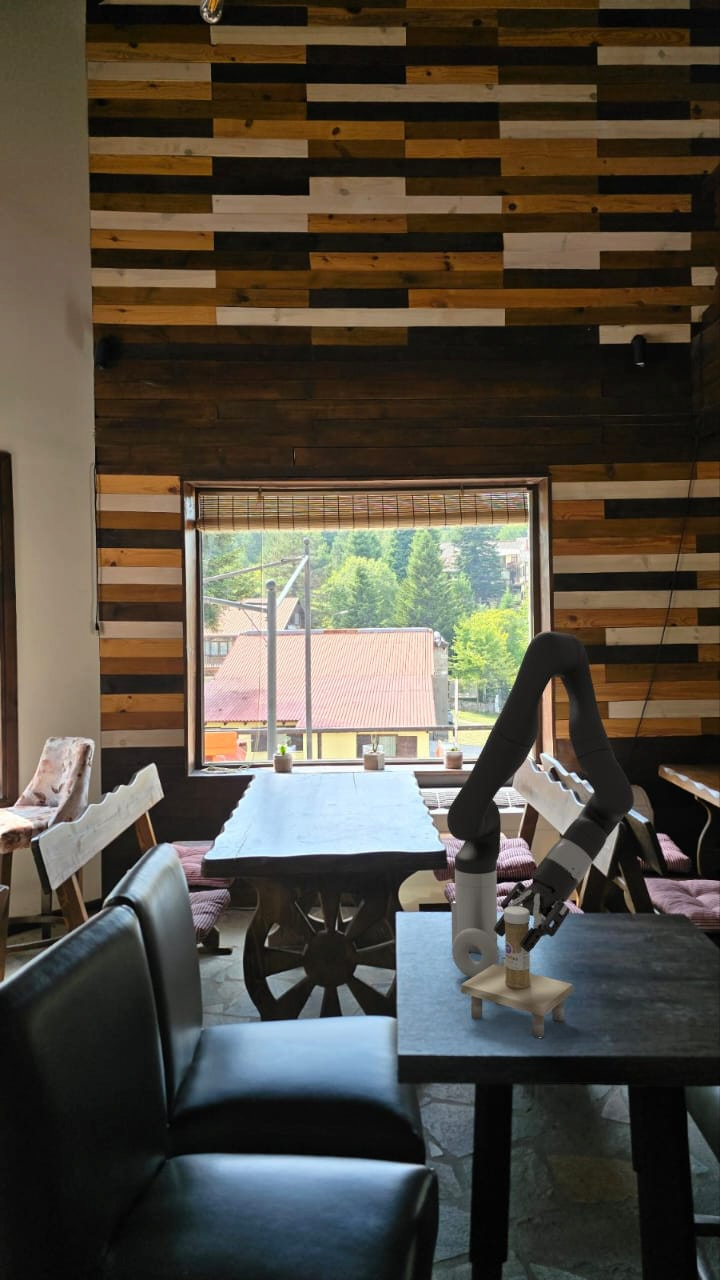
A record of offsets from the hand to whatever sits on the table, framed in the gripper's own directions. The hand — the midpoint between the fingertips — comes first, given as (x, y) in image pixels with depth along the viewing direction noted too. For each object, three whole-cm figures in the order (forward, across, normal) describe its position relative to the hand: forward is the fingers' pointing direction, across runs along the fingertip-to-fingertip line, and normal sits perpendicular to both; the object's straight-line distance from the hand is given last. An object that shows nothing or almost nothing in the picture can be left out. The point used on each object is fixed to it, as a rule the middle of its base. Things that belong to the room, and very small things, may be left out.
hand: (510, 941), depth 149 cm
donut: (+8, -18, +13) cm, 24 cm away
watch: (+2, -17, +18) cm, 25 cm away
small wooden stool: (+9, 0, +11) cm, 14 cm away
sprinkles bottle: (+5, 0, +7) cm, 8 cm away
